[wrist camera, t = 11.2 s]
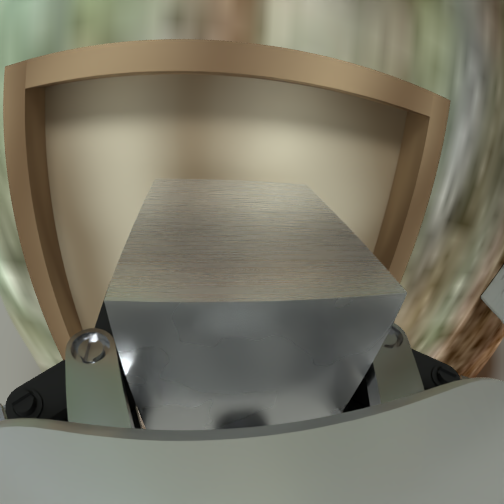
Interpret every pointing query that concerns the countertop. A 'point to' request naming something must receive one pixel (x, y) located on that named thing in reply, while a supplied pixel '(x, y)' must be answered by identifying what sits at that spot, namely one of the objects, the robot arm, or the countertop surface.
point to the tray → (202, 149)
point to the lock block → (245, 306)
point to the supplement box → (496, 295)
